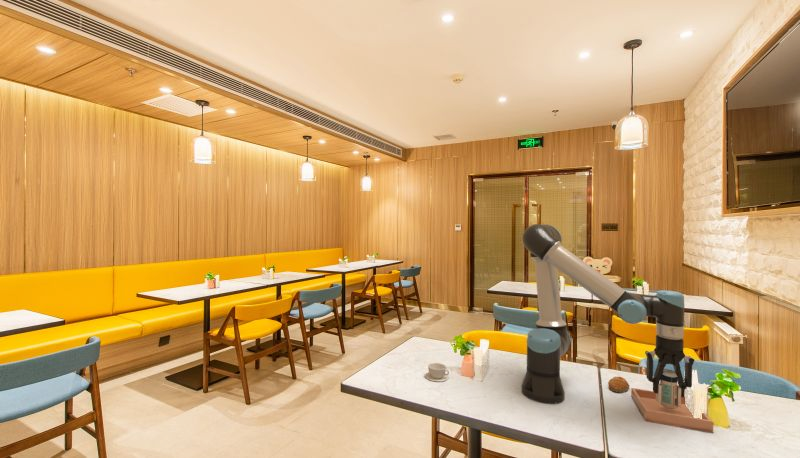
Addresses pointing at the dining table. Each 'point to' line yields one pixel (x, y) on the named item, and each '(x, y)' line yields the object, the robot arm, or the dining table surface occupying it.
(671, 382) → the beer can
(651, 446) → the dining table surface
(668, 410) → the terracotta dish
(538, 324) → the robot arm
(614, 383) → the pastry
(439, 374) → the teacup
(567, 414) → the dining table surface
